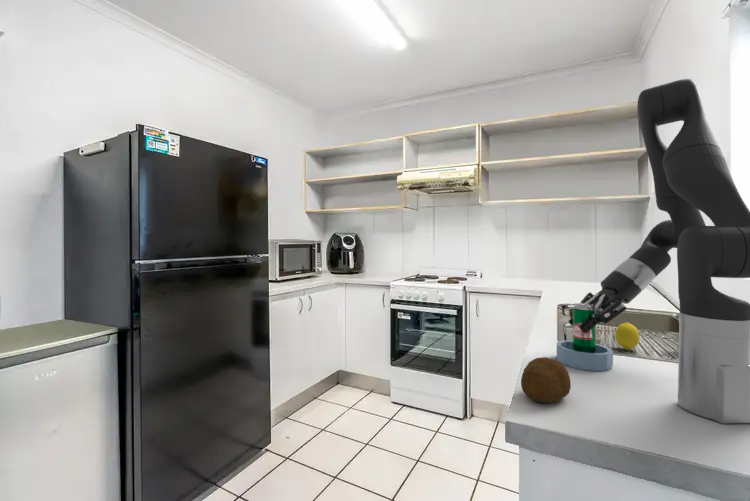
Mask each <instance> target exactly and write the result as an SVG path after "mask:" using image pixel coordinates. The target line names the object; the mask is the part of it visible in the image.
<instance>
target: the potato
mask: <svg viewBox="0 0 750 501" xmlns="http://www.w3.org/2000/svg"><path fill="white" fill-rule="evenodd" d="M565 366H566V365H563V364H561V363H560V362H558V361H557V359H555V358H550V357H546V356H545V357H544V356H543V357H537V358H535V359H532V360H530V361H529V362H528V364H526V366H525V368H524V369H523V371H522V374H521V379H520V384H521V390H522V391H523V393H524V394H525V395H526V397H527V398H528V399H530V400H531V401H533V402H537V403H542V404H545V403H547V404H548V403H554V402H557V401H559V400H562V399H563V398H565V397H566V396H568V394H570V391H571V386H572V384H571V383H572V382H571V378H570V374H569V371H568V370H567V368H566V367H565Z"/></svg>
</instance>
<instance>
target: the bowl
mask: <svg viewBox="0 0 750 501" xmlns="http://www.w3.org/2000/svg"><path fill="white" fill-rule="evenodd" d="M572 346H573V340H561V341H556V354H555V355H556V360H557V361H558V362H560V363H561V364H563V365H564V366H566V367H568V366H569V367H570V368H572V369H577V370H581V371H588V372H609V371H611V370H612V369H613V366H614V351H613V349H612V348H610V347H608V346H605V345H602V344H598V343H596V351H595V352H594V353H586V352H578V351H574V349H573V348H572Z"/></svg>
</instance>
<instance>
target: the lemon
mask: <svg viewBox="0 0 750 501" xmlns="http://www.w3.org/2000/svg"><path fill="white" fill-rule="evenodd" d="M614 334H615V340H616V343H617V344H618V345H619V346H620V347H622V348H623V349H624V350H626V351H629V350H630V349H634V348H636V347H637V346H638V344H639V342H640V333H639V330H638V328H637V327H636V326H634V325H633V324H631V323H630V322H623V323H621V324H619V325H618V326H617V328H616V330H615V333H614Z"/></svg>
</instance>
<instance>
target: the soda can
mask: <svg viewBox="0 0 750 501" xmlns="http://www.w3.org/2000/svg"><path fill="white" fill-rule="evenodd" d="M594 306H595V305H593V304H587V303H580V302H578V303H577V302H576V303H574V306H573V307H572V317H573V326H572V341H573V346H572V348H573V349H574V351H578V352H586V353H594V352H595V351H596V344H597V324H596V325H595V326H594V327H593V328H592V329H591V330H590V331H589V332H587V333H584V332H583V331H582V330H581V329H580V328H579V325H580V324H582V323H583V322H584V321H585V320H586V319H587V318H588V317H589V316H590V317H591V314H592V313H593V312H594Z"/></svg>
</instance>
